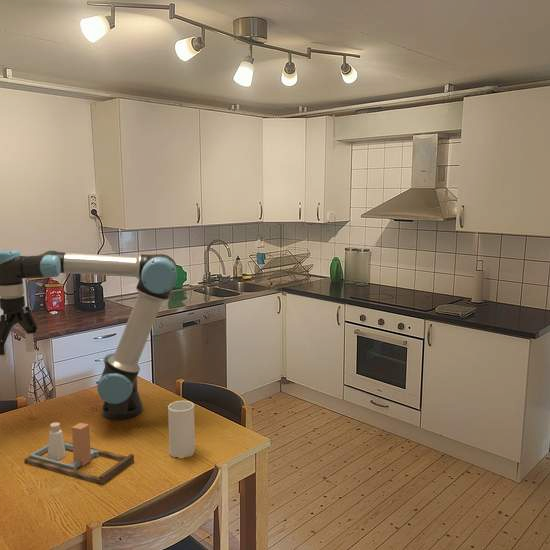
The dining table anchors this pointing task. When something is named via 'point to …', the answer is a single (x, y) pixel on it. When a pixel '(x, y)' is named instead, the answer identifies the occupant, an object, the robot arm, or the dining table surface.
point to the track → (102, 479)
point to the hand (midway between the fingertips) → (18, 357)
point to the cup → (181, 428)
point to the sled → (79, 448)
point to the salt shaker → (56, 443)
